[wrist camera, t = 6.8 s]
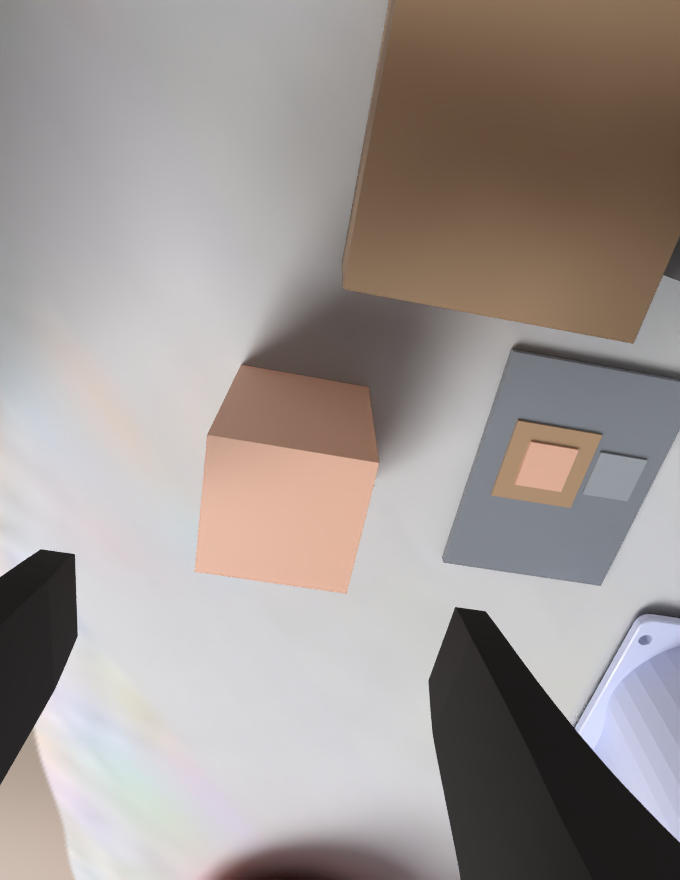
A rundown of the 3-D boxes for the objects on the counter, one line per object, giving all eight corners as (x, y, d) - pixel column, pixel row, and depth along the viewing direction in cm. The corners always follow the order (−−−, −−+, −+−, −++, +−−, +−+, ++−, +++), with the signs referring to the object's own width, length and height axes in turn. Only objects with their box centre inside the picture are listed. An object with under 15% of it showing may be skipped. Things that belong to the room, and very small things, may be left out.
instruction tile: (597, 580, 21) (603, 589, 20) (442, 557, 20) (444, 566, 20) (695, 382, 17) (705, 388, 17) (511, 348, 17) (516, 353, 16)
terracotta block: (344, 493, 19) (346, 593, 15) (228, 475, 19) (194, 571, 14) (368, 386, 17) (379, 463, 13) (241, 364, 17) (207, 434, 13)
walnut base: (576, 308, 16) (633, 343, 13) (342, 264, 16) (342, 288, 13) (684, 19, 13) (792, -25, 10) (398, -50, 13) (417, -120, 10)
